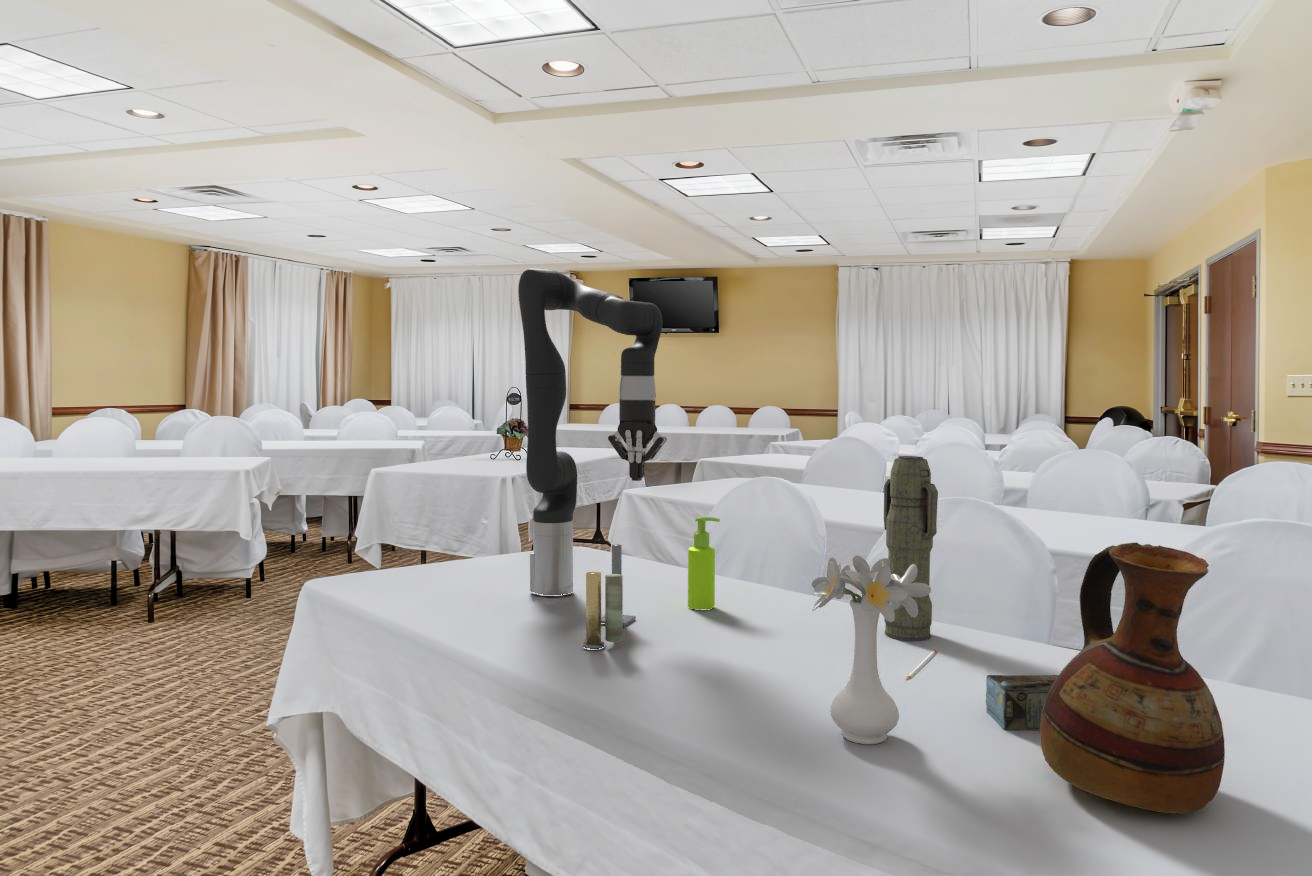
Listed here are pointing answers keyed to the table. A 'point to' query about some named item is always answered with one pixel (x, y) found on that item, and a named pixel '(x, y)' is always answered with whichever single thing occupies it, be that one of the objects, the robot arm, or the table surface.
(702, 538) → the soap dispenser
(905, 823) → the table surface
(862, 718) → the flower vase
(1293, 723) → the table surface
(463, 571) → the table surface
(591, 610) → the post
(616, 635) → the gate
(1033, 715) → the beverage carton
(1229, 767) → the table surface
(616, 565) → the hinge post
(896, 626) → the thermos
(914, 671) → the pencil
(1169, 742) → the ceramic pitcher
